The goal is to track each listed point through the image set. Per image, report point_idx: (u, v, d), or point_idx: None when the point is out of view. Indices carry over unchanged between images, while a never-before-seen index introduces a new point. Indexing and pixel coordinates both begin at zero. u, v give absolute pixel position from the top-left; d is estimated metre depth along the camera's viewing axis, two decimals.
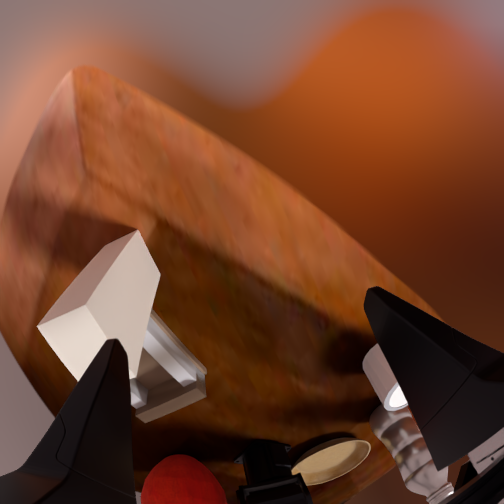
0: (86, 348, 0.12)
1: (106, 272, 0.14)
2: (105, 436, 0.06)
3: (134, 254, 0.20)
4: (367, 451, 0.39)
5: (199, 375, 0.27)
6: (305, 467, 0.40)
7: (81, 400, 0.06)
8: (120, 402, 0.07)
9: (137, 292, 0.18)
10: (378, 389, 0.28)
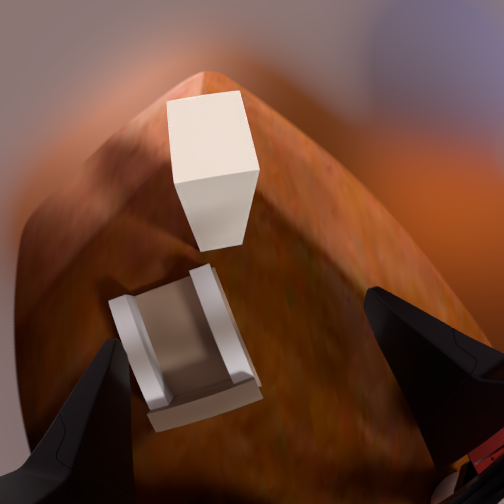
0: (215, 126, 0.12)
1: None
2: (105, 436, 0.06)
3: None
4: None
5: None
6: None
7: (81, 400, 0.06)
8: (120, 402, 0.07)
9: None
10: None
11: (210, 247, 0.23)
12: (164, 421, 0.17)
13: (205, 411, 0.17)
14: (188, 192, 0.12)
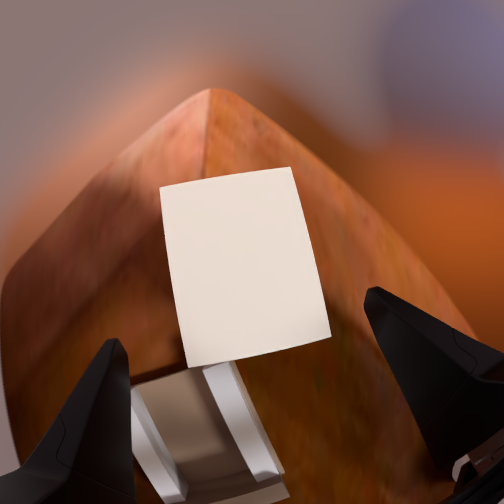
0: (252, 250, 0.07)
1: None
2: (105, 436, 0.06)
3: None
4: None
5: (279, 471, 0.15)
6: None
7: (81, 400, 0.06)
8: (120, 402, 0.07)
9: None
10: None
11: None
12: None
13: None
14: None
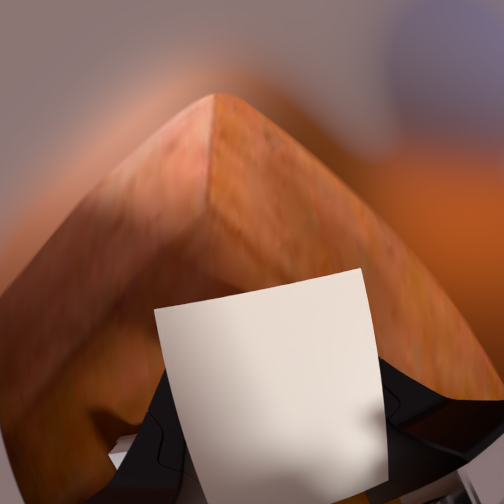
0: (304, 405, 0.04)
1: None
2: None
3: None
4: None
5: None
6: None
7: None
8: None
9: None
10: None
11: None
12: None
13: None
14: None
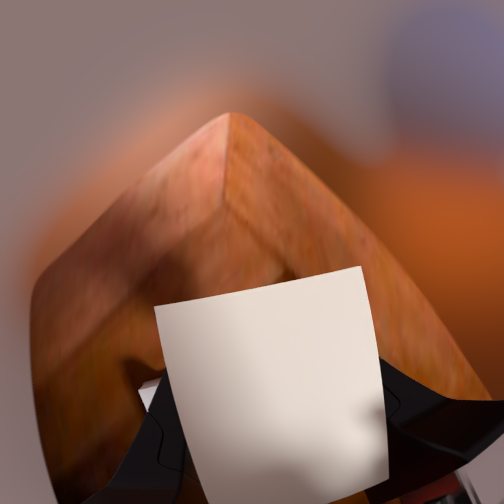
0: (305, 403, 0.04)
1: None
2: None
3: None
4: None
5: None
6: None
7: None
8: None
9: None
10: None
11: None
12: None
13: None
14: None
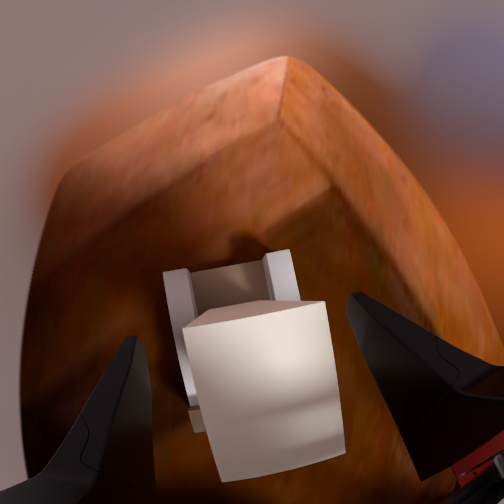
0: (282, 393, 0.06)
1: (288, 301, 0.10)
2: (129, 436, 0.06)
3: None
4: None
5: None
6: None
7: (104, 400, 0.06)
8: (142, 401, 0.08)
9: None
10: None
11: None
12: None
13: None
14: None
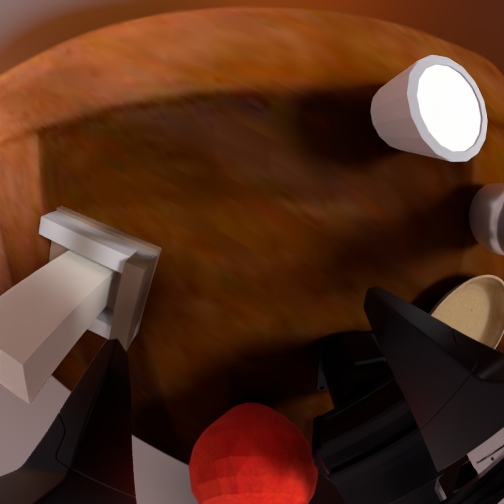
0: None
1: (5, 293, 0.12)
2: (105, 436, 0.06)
3: (60, 266, 0.18)
4: None
5: (143, 254, 0.21)
6: None
7: (81, 400, 0.06)
8: (120, 402, 0.07)
9: (57, 293, 0.15)
10: (406, 135, 0.15)
11: (108, 297, 0.22)
12: None
13: (126, 313, 0.20)
14: (37, 387, 0.11)
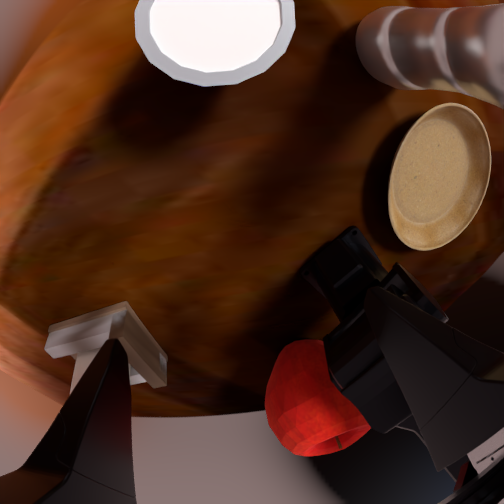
0: None
1: None
2: (105, 436, 0.06)
3: (81, 370, 0.22)
4: (468, 112, 0.18)
5: (117, 319, 0.23)
6: (432, 211, 0.26)
7: (81, 400, 0.06)
8: (120, 402, 0.07)
9: None
10: None
11: None
12: (156, 381, 0.25)
13: (141, 364, 0.23)
14: None
